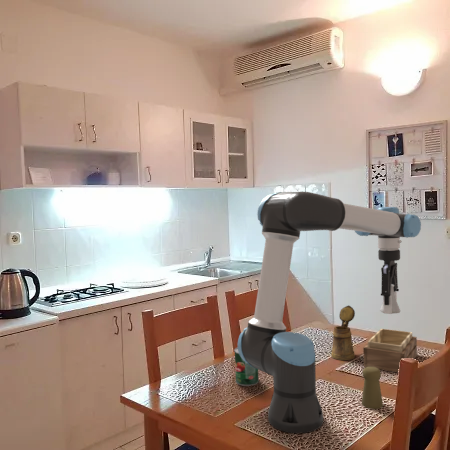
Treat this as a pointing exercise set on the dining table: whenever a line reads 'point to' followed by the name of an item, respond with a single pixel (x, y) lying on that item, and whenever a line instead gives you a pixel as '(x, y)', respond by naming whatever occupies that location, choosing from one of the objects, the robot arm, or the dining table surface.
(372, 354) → the wooden drawer box
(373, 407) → the cork
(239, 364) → the canned tomato
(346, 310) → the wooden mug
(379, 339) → the pine crate
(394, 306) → the flask
